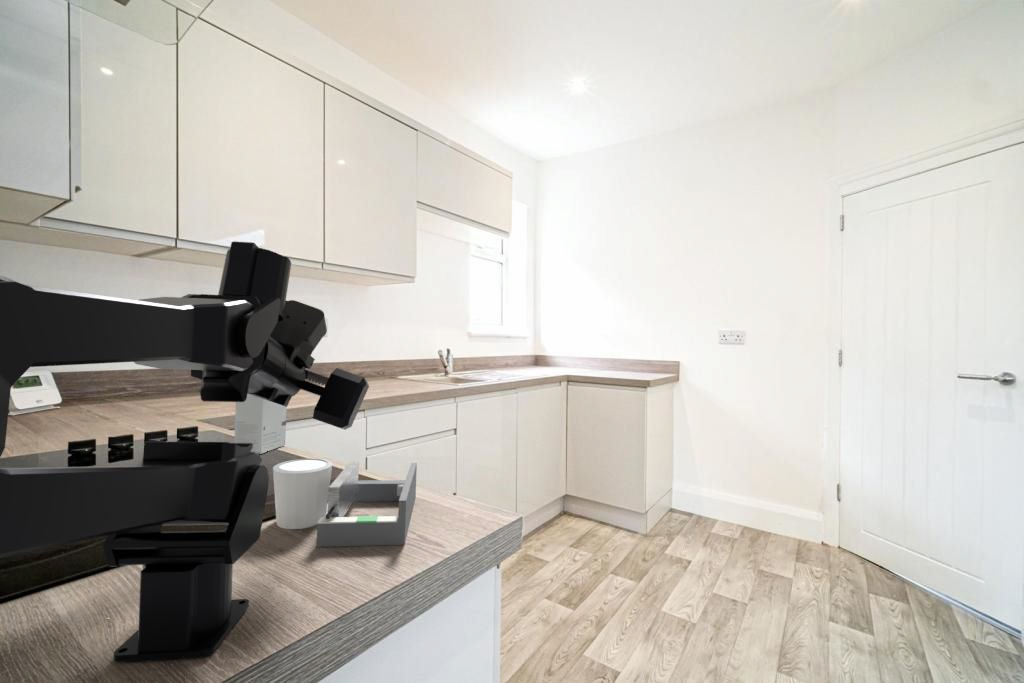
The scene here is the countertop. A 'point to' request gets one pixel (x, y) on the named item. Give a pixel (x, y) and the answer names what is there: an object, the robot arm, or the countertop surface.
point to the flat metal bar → (343, 491)
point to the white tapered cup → (301, 492)
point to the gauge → (373, 527)
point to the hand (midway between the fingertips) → (304, 391)
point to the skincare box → (260, 424)
